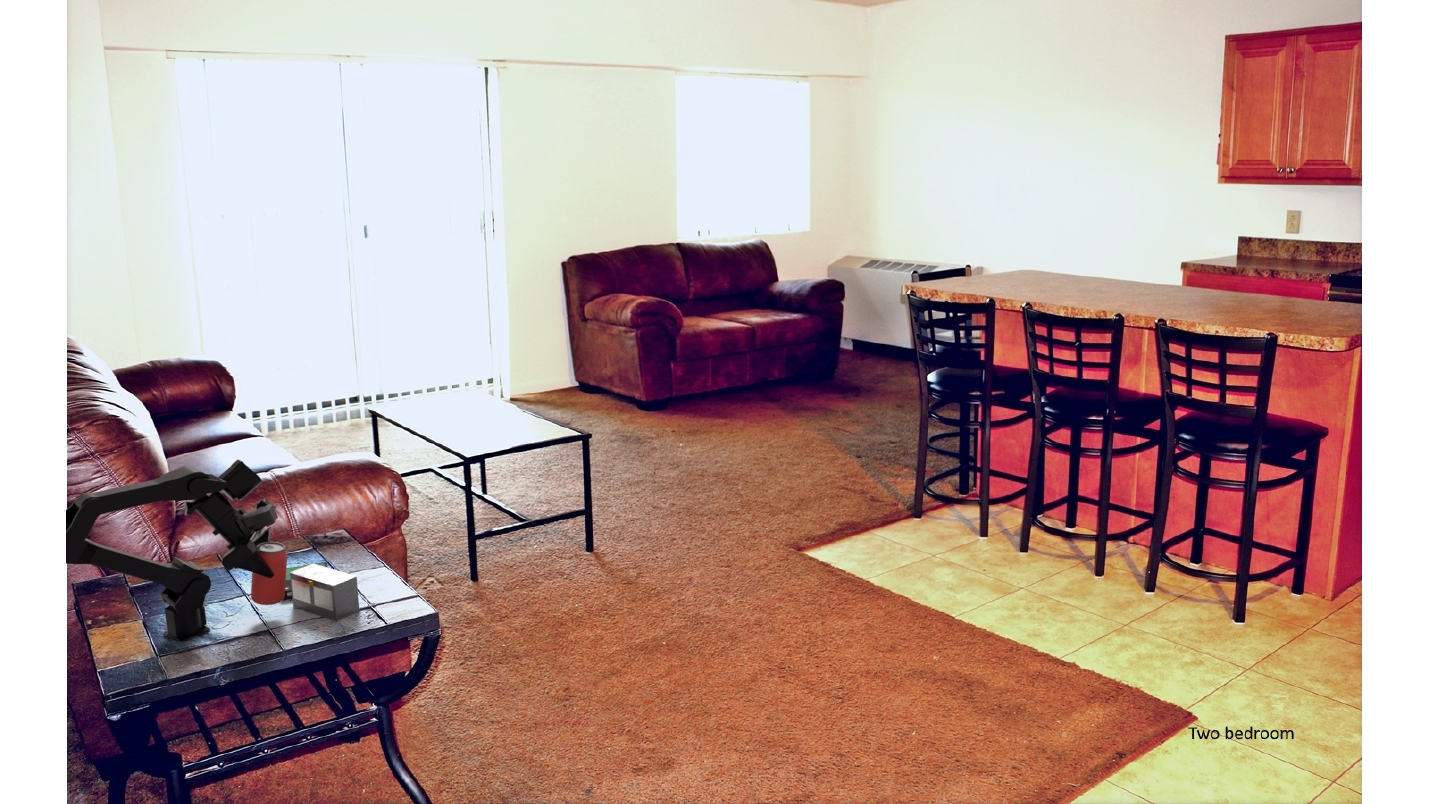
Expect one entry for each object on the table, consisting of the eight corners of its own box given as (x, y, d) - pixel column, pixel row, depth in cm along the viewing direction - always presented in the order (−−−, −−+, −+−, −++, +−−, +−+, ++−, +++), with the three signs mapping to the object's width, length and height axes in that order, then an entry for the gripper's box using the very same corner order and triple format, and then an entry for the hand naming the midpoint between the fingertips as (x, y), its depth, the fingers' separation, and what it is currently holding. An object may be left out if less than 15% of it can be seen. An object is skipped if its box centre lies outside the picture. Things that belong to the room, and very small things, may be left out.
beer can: (272, 590, 229) (275, 538, 227) (290, 601, 226) (294, 548, 223) (244, 598, 224) (247, 545, 221) (262, 609, 220) (266, 555, 218)
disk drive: (330, 596, 238) (327, 571, 251) (329, 584, 237) (326, 560, 250) (281, 603, 234) (280, 578, 247) (279, 591, 233) (279, 567, 246)
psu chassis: (335, 622, 223) (331, 586, 221) (291, 607, 230) (288, 573, 228) (359, 611, 228) (356, 576, 226) (316, 597, 235) (312, 563, 234)
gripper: (242, 508, 210) (297, 564, 215) (264, 478, 228) (314, 530, 232) (197, 542, 210) (254, 597, 215) (222, 509, 228) (274, 561, 232)
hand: (276, 570), depth 224 cm, fingers closed on beer can, 6 cm apart
